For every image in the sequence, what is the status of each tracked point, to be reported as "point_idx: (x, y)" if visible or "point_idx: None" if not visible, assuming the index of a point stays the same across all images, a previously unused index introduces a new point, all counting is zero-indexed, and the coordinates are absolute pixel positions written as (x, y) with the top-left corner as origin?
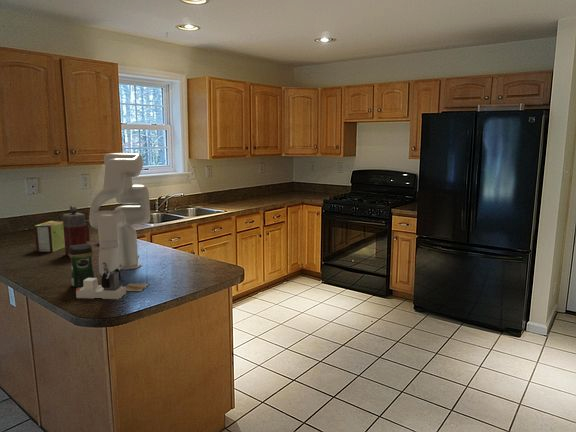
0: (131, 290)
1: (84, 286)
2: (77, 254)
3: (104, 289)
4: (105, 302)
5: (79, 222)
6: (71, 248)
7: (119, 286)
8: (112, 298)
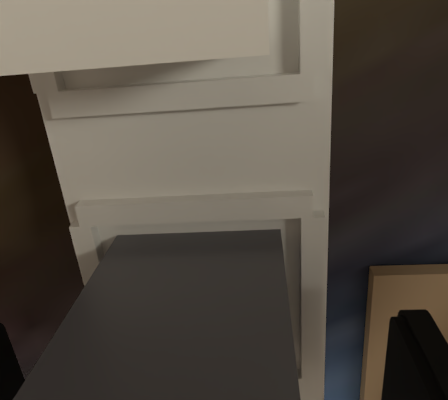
0: (371, 378)
1: None
2: None
3: (111, 252)
4: (27, 266)
5: None
6: None
7: (300, 359)
8: None
